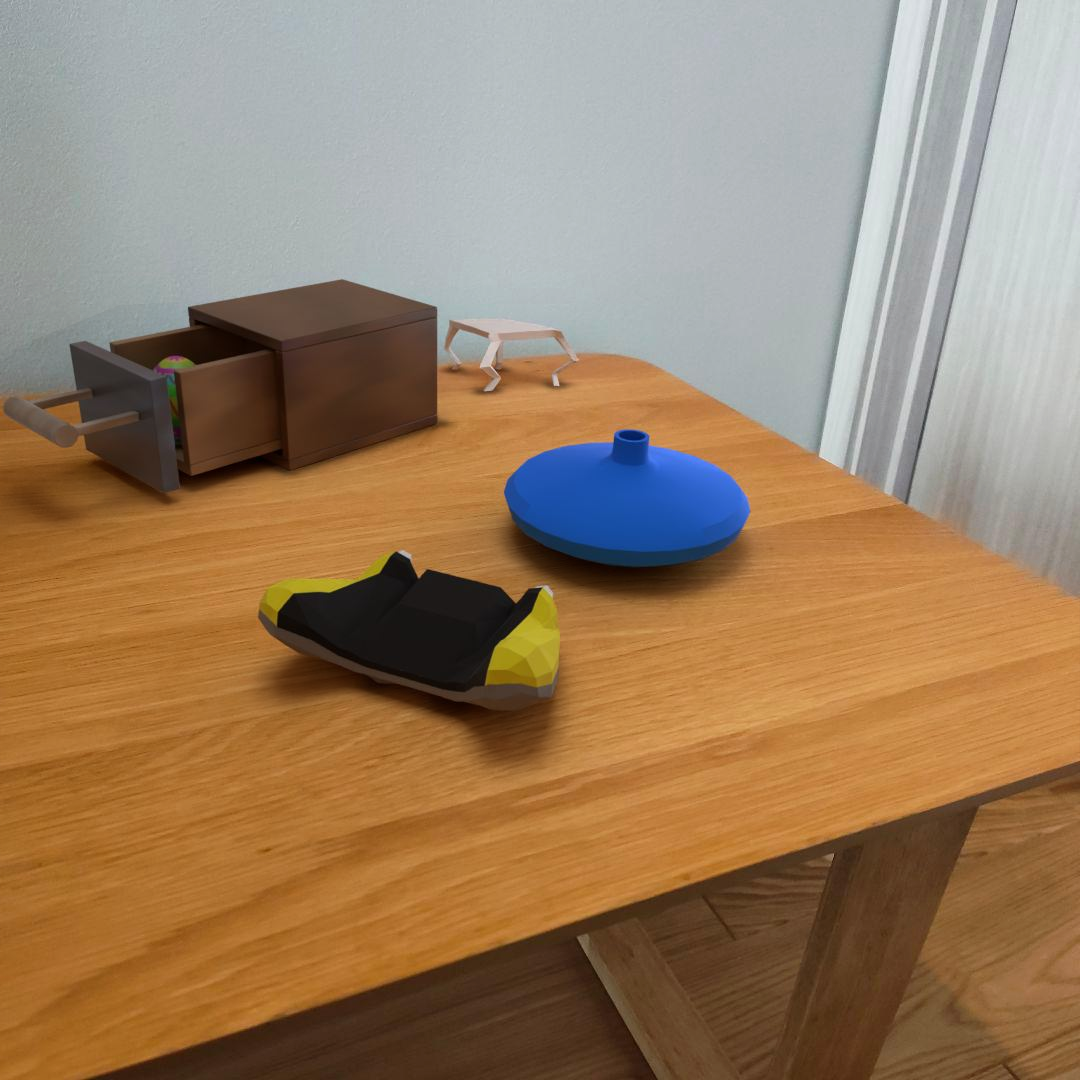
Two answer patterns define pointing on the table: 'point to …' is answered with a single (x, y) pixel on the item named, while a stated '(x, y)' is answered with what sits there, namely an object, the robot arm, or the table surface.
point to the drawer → (166, 404)
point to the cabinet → (339, 363)
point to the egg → (173, 388)
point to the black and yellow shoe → (424, 632)
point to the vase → (626, 502)
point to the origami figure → (501, 332)
